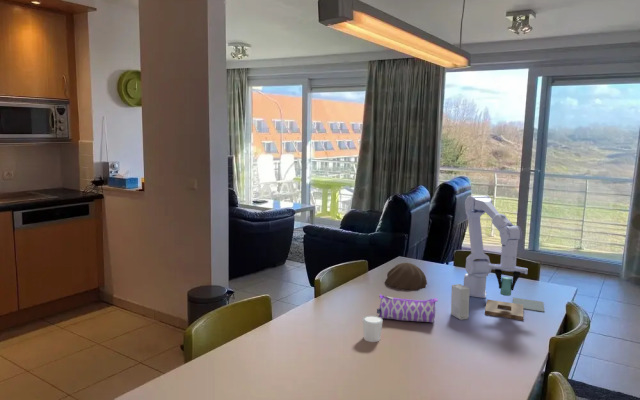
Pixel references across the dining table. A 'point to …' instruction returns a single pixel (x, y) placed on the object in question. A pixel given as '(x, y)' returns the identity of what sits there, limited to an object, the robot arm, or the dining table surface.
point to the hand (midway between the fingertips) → (506, 288)
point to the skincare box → (460, 301)
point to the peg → (506, 286)
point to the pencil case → (407, 309)
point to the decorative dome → (406, 277)
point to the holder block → (513, 314)
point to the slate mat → (530, 304)
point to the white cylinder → (372, 328)
